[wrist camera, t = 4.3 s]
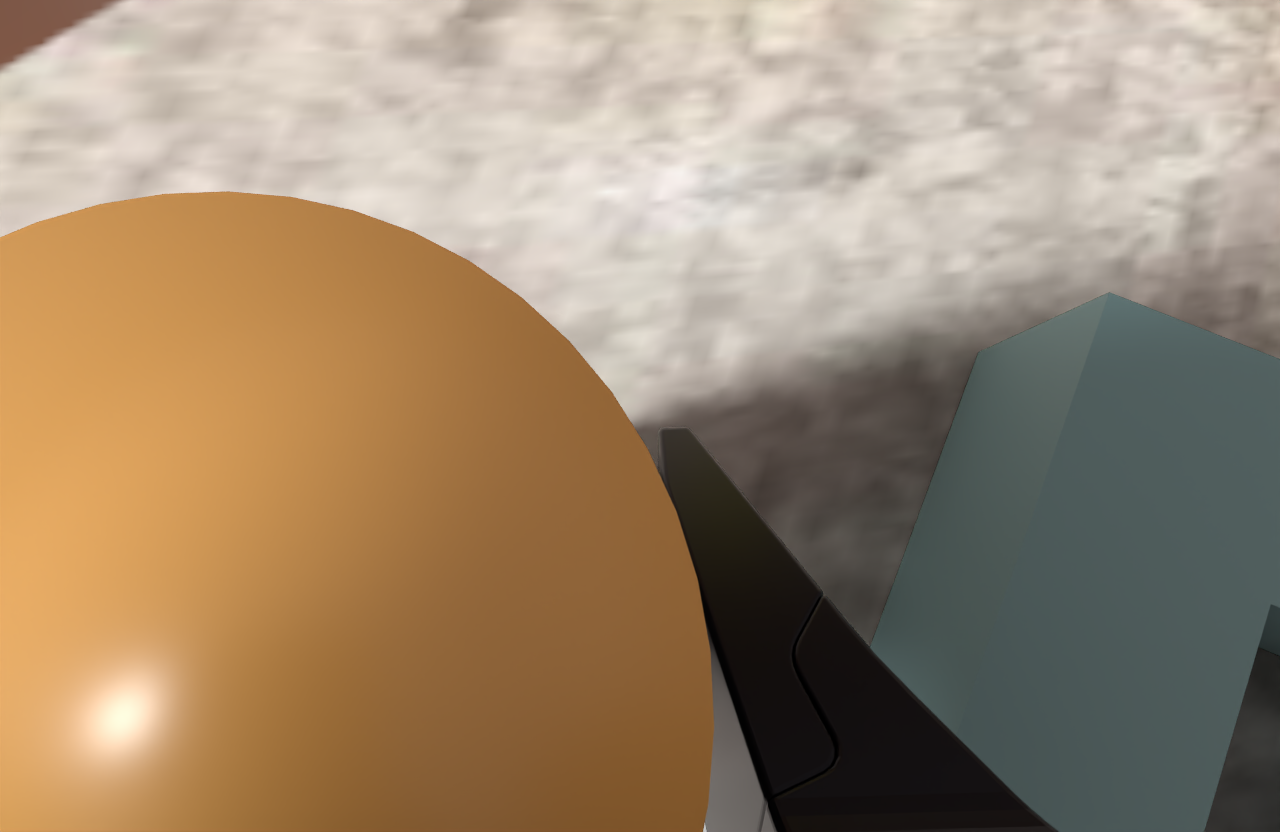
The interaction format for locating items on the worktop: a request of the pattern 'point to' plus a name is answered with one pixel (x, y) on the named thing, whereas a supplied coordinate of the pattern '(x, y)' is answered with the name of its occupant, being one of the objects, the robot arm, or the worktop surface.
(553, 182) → the worktop surface
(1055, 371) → the socket
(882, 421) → the worktop surface
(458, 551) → the plug
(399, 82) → the worktop surface
